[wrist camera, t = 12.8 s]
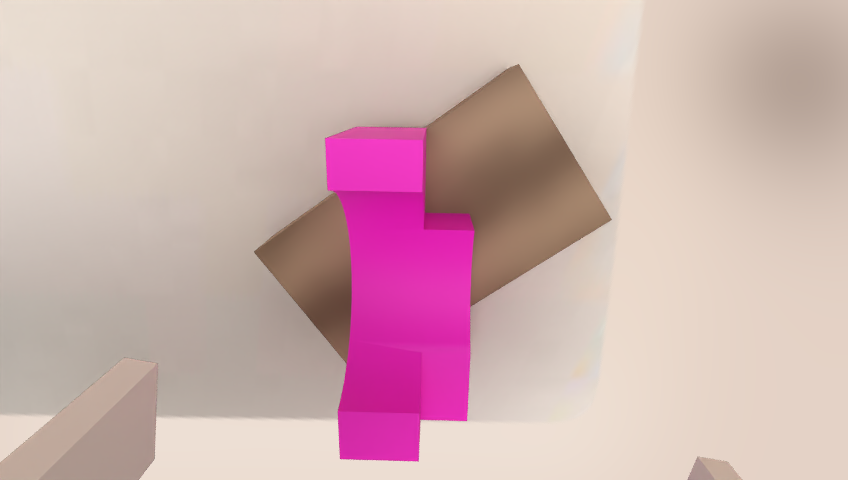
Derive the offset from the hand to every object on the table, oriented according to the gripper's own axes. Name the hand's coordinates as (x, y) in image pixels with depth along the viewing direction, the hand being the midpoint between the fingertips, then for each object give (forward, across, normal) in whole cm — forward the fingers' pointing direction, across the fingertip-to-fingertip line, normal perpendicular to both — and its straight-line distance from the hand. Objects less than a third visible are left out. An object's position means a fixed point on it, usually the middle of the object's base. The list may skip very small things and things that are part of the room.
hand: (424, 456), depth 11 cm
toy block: (+16, +1, +1) cm, 17 cm away
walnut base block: (+20, 0, -1) cm, 20 cm away
